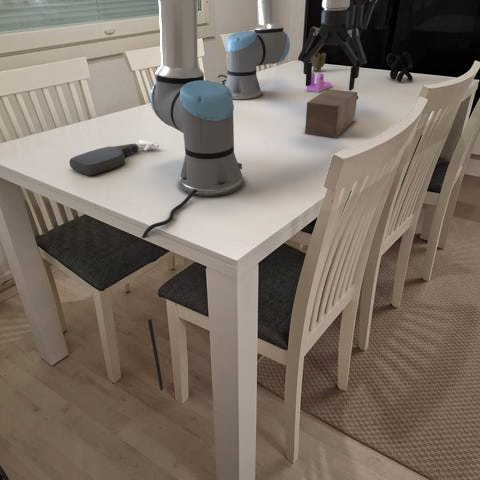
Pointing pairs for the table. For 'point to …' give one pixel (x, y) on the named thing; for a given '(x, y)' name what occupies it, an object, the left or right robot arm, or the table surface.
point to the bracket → (318, 83)
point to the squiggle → (399, 66)
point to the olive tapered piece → (318, 61)
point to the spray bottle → (106, 157)
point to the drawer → (356, 101)
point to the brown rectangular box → (330, 113)
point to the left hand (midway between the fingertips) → (329, 87)
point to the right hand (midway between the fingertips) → (351, 53)
